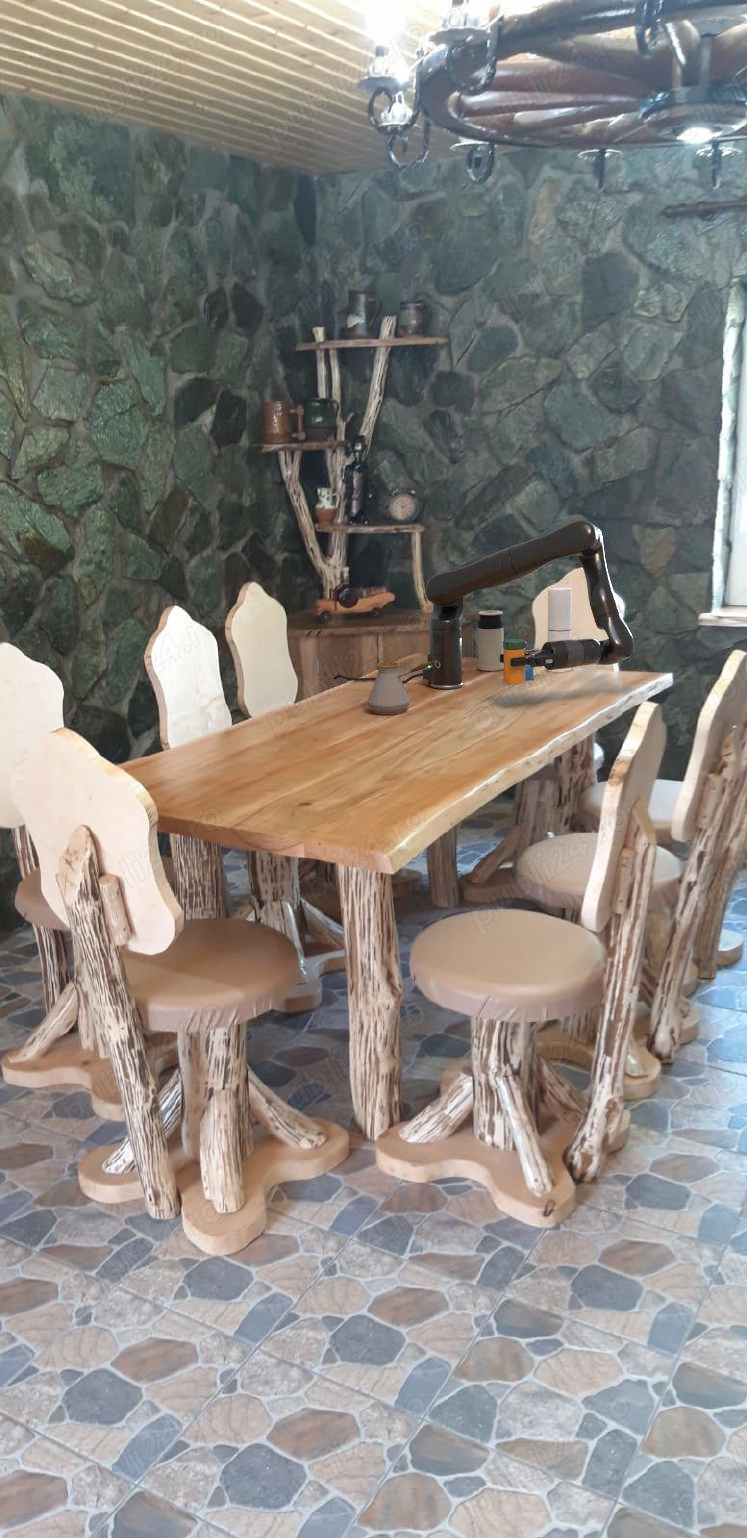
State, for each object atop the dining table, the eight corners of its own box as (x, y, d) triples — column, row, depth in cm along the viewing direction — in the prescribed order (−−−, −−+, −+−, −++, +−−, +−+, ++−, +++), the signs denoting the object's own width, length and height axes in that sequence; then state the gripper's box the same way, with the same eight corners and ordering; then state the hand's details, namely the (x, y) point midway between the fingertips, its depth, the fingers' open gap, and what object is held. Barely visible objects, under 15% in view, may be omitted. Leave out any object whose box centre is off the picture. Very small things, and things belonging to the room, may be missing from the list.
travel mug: (486, 672, 366) (485, 614, 361) (473, 668, 373) (473, 611, 368) (508, 669, 369) (508, 612, 364) (495, 666, 376) (495, 609, 371)
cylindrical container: (547, 671, 363) (547, 590, 357) (547, 667, 370) (548, 587, 364) (570, 671, 362) (571, 590, 356) (570, 667, 369) (571, 587, 362)
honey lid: (499, 648, 306) (499, 641, 306) (508, 645, 311) (508, 638, 311) (519, 650, 303) (519, 643, 303) (529, 646, 308) (529, 639, 308)
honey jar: (500, 683, 309) (499, 643, 306) (509, 679, 313) (508, 639, 311) (519, 685, 306) (519, 644, 303) (528, 680, 311) (528, 641, 308)
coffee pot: (359, 713, 313) (357, 658, 309) (382, 705, 322) (381, 651, 318) (428, 721, 302) (427, 663, 298) (450, 713, 311) (450, 656, 307)
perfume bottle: (533, 679, 352) (533, 639, 349) (512, 680, 352) (512, 640, 349) (530, 675, 358) (531, 636, 355) (510, 676, 358) (510, 637, 355)
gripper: (549, 636, 318) (493, 642, 313) (576, 644, 305) (518, 650, 300) (549, 664, 320) (493, 670, 315) (576, 672, 307) (518, 679, 302)
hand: (505, 660), depth 307 cm, fingers closed on honey jar, 5 cm apart
